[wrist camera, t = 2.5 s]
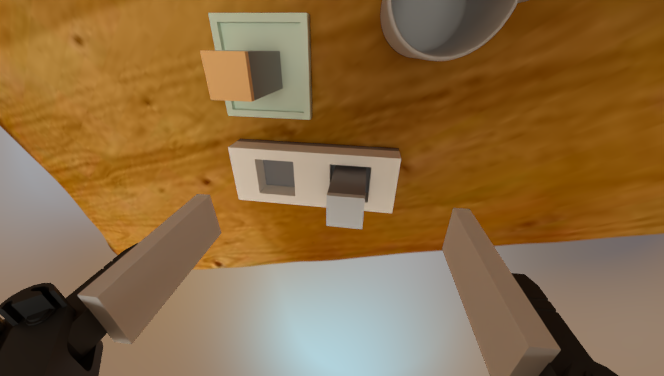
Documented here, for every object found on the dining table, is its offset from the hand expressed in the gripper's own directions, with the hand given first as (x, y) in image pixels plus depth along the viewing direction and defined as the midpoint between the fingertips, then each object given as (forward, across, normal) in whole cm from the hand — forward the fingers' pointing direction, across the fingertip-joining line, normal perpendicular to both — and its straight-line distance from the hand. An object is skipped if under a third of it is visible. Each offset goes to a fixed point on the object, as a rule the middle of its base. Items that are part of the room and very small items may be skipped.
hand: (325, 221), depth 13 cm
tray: (+21, -10, +6) cm, 24 cm away
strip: (+21, -5, -7) cm, 22 cm away
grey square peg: (+20, 0, -7) cm, 21 cm away
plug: (+20, -10, +6) cm, 24 cm away
